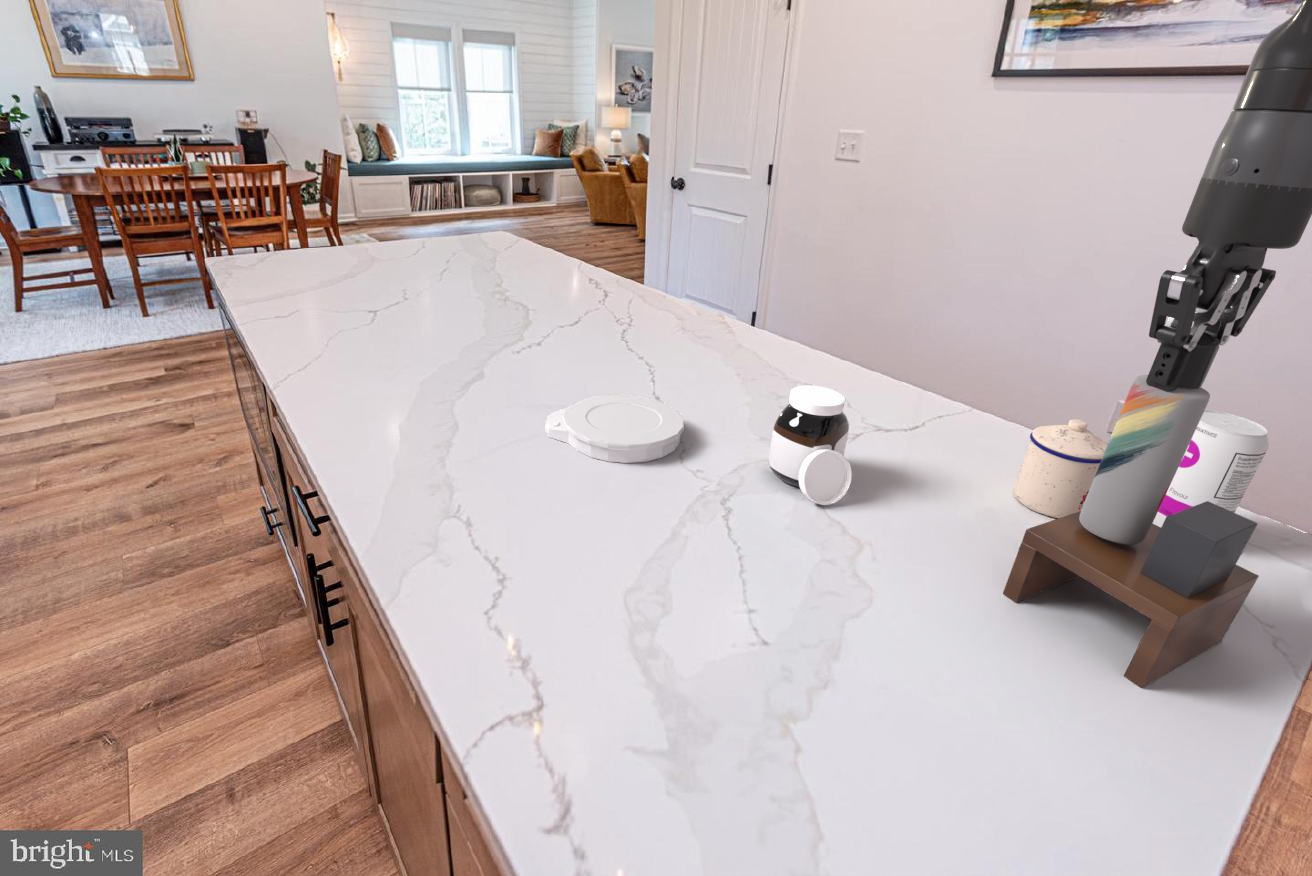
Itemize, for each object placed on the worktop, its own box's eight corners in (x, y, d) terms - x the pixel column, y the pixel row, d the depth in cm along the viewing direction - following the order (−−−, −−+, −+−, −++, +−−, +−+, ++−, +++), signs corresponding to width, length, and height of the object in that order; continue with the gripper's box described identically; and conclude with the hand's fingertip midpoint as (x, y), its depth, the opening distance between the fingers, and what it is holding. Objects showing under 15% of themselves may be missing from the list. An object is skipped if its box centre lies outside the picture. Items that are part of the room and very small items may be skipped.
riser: (1082, 561, 77) (1108, 501, 73) (1221, 642, 66) (1259, 575, 62) (1002, 593, 70) (1026, 529, 67) (1141, 688, 59) (1178, 617, 56)
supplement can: (1146, 540, 82) (1198, 427, 75) (1131, 508, 89) (1178, 402, 82) (1226, 558, 79) (1287, 444, 73) (1204, 524, 86) (1258, 416, 80)
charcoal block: (1180, 554, 64) (1207, 500, 62) (1228, 578, 61) (1258, 523, 59) (1139, 572, 61) (1166, 516, 59) (1187, 599, 58) (1217, 541, 56)
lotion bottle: (1134, 521, 68) (1221, 329, 59) (1152, 552, 63) (1249, 346, 54) (1072, 508, 70) (1147, 318, 61) (1084, 537, 65) (1168, 335, 56)
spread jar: (800, 454, 96) (814, 377, 91) (871, 486, 89) (891, 405, 84) (747, 480, 88) (759, 397, 83) (821, 517, 81) (839, 429, 76)
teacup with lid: (1092, 529, 83) (1128, 444, 78) (1011, 509, 86) (1040, 426, 81) (1080, 486, 93) (1111, 409, 88) (1008, 470, 96) (1034, 394, 91)
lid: (566, 402, 107) (566, 385, 105) (691, 421, 104) (693, 403, 102) (525, 450, 91) (525, 430, 90) (670, 473, 88) (672, 453, 87)
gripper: (1277, 182, 46) (1176, 413, 54) (1362, 185, 53) (1261, 390, 60) (1161, 171, 52) (1084, 380, 60) (1250, 174, 58) (1171, 363, 66)
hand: (1173, 384), depth 60 cm, fingers closed on lotion bottle, 4 cm apart
